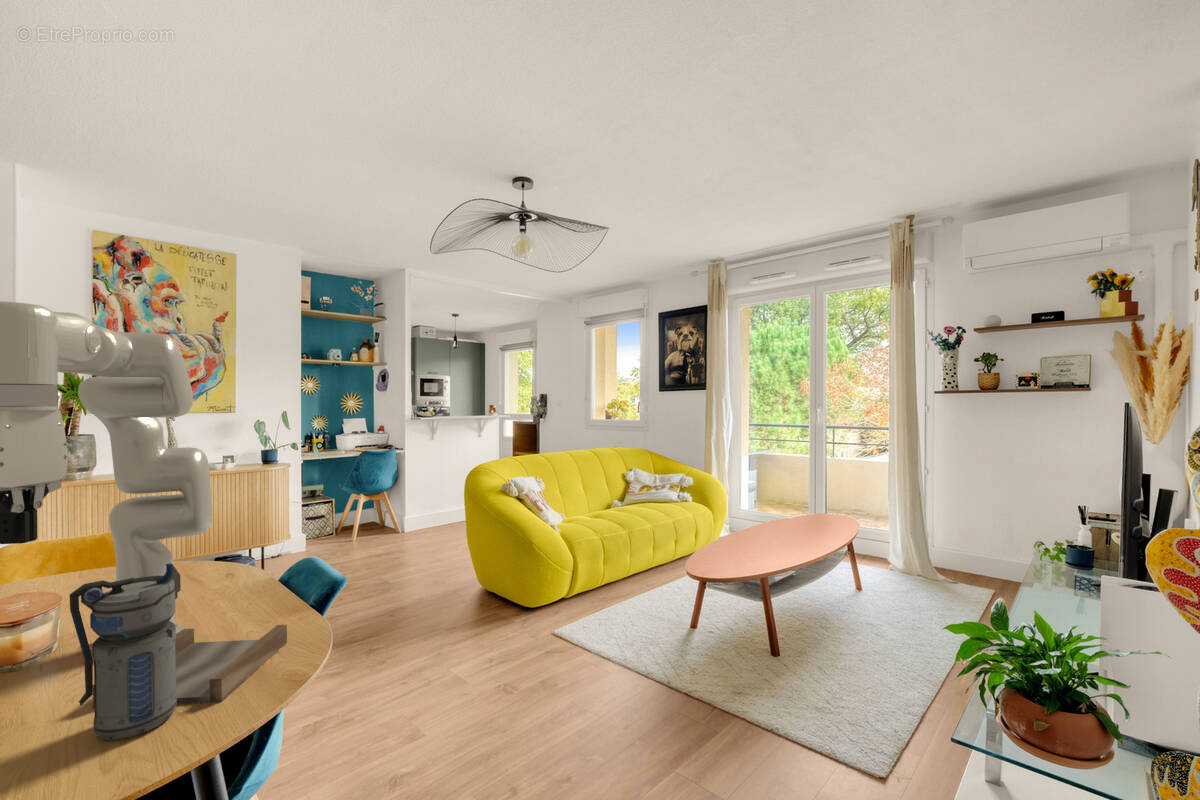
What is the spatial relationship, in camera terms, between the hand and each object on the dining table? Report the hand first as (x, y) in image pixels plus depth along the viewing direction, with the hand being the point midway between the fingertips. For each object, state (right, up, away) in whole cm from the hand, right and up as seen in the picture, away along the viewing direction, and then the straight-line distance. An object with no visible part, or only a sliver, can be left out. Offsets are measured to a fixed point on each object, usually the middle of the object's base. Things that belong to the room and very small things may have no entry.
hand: (18, 541), depth 68 cm
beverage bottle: (-1, -35, +17) cm, 39 cm away
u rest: (-2, -34, +34) cm, 49 cm away
